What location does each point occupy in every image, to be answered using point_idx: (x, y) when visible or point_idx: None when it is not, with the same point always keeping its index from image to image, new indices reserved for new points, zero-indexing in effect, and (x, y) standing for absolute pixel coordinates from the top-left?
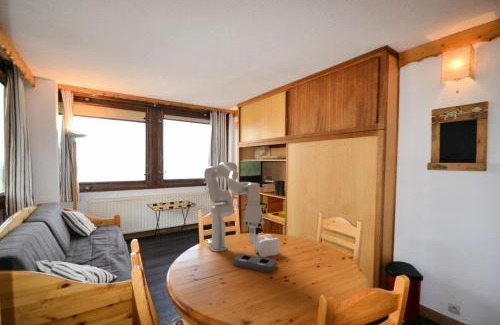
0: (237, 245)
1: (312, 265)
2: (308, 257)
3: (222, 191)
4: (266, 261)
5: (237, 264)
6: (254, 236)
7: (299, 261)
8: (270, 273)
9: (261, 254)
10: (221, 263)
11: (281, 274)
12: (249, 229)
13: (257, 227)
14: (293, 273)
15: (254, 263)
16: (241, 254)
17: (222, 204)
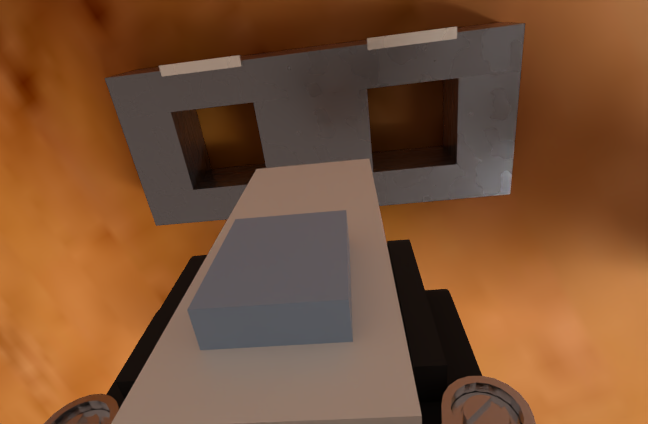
0: (628, 364)
1: (17, 322)
2: None
3: None
4: (229, 180)
5: (460, 28)
6: (249, 215)
7: (107, 334)
8: (139, 69)
9: None
10: None
11: (70, 106)
12: (384, 292)
13: (79, 413)
14: (22, 167)
15: (272, 56)
16: (491, 165)
17: None
